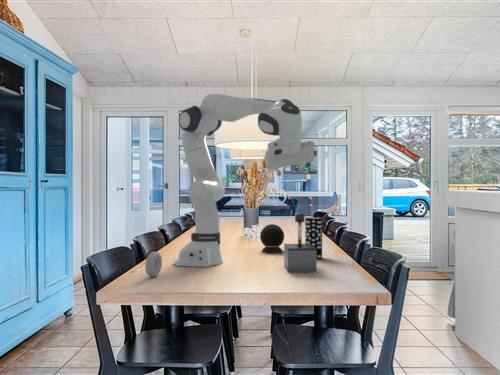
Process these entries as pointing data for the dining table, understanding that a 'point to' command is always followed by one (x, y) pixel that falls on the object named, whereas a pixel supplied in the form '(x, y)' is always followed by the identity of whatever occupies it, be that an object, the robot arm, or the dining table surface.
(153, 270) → the grey thick disc
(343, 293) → the dining table surface
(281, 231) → the black ball on stand
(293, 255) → the block
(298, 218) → the plunger
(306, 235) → the spotted tube
